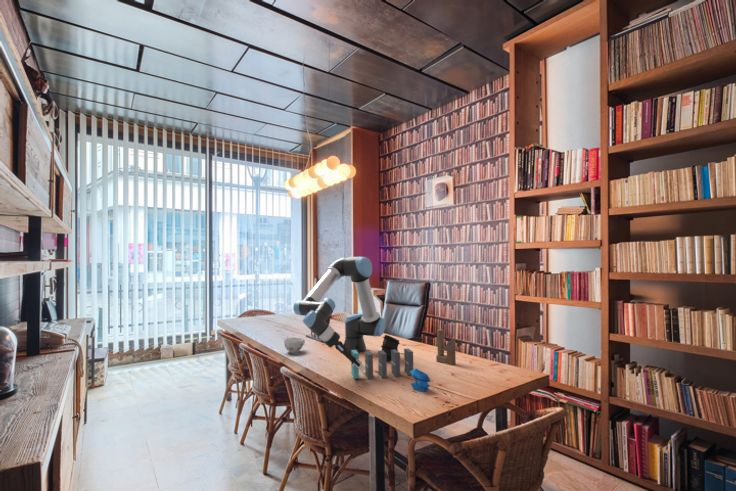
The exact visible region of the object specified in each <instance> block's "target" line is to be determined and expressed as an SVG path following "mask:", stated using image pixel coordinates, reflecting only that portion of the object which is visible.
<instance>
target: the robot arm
mask: <svg viewBox="0 0 736 491" xmlns="http://www.w3.org/2000/svg"><path fill="white" fill-rule="evenodd" d="M372 273H373V263H372V261H371V260H370V259H369V258H368V257H367V256H361V255H360V256H342V257H339V258H338V259H336V260H335V261H333V262H332V263H330V264H329V265H328V267H327V268H326V269H325V273H324V274H323V275H322V276H321V278H320V279H319V280H318V281H317V282H316V284H315V285H314V286H313V287H312V288H311V289H310V290H309V292H308V293H307V294H306V295H305V297H304V298H303V299H300V300H296V301H295V302H294V304H293V308H292V309H293V312H294V313H295V315H297V316H304V317H303V319H302V323H303V324H304V326H306V327H307V328H308V329H309V330H310V331H312V332H313V333H314V335H316V336H317V337H318V340H321V341H322V342H324V344H325V345H327V347H328V348H332V347H334V348H335V349H336V350H337V351H338V352H340V354H343V356H344V357H346V359H348V360H349V361H350V363H351V364H354V365H355V366H356V367H357V368H358V369H359V372H362V373H363V371H365V368H366V367H365V364H363V362H362V361H360V359H359V361H358V360H357V359H356V358H355V357H354V356H353V355H352V354H351V350H356V351H357V352H358V353H359V354H360V353H365V352H366V351H367V346H366V341H365V338H364V336H368V337H369V336H370V337H374V338H375V337H378V338H379V337H381V336H383V334H384V332H385V329H386V319H385V318H384V317H381V315H380V312H379V311H377V309H376V304H375V301H374V300H375V299H374V296H373V291H372V288H371V283H370V280H369V279H370V278H371V275H372ZM343 277H350V280H351V282H352V283H354V286H355V289H356V290H355V291H356V293H357V297H358V301H359V305H360V308H361V311H362V313H353V314H349V315H346V316H345V319H344V320H345V321H344V324H345V325H344V329H345V330H344V332H345V335H344V336H345V339H344V342H342V341H341V340H340V338H341V336H340V334H339V333H338V332H337V331H335V329H333V327H332V326H330V324H328V322H327V321H328V319H329V318H330V316H331V315H332V313H334V311H335V309H336V302H335V301H334V300H333V299H332V298H329V297H325V298H324V296H325V295H326V294H327V293H328V291H329V290H330V289H331V287H332V286H333V285H334V284H335V283H336V281H339V280H340V279H341V278H343ZM351 364H350V365H351Z"/></svg>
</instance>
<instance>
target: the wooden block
mask: <svg viewBox="0 0 736 491" xmlns="http://www.w3.org/2000/svg"><path fill="white" fill-rule="evenodd" d="M436 330H437V331H436V332H437V333H436V334H437V338H436V339H437V354H436V356H435V357H436V362H438V363H440V364H441V363H442V364H446V365H449V366H454V365H457V362H456V360H457V359H456V356H457V355H456V338H451V339H450V340H449V341H448V342H447V344H446V345H445V338H444V337H445V336H444V333H445V332H444V329H436ZM445 352H446V355H445Z"/></svg>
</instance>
